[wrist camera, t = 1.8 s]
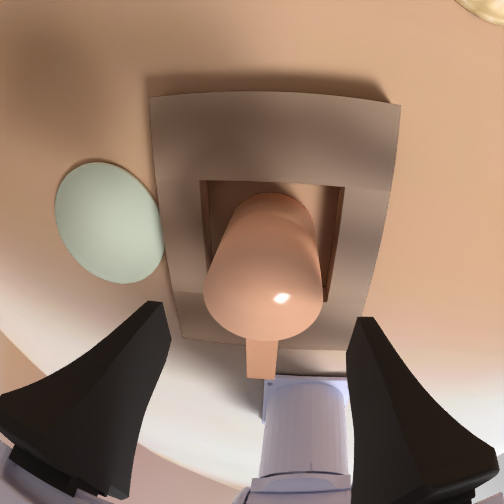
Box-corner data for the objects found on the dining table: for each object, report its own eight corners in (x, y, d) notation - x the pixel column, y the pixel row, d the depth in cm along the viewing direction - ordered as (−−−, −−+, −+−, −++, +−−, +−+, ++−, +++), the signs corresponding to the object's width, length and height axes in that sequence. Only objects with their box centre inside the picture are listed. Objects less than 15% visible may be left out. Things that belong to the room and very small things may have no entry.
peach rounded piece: (227, 190, 17) (197, 244, 11) (318, 195, 16) (331, 252, 11) (232, 313, 21) (215, 382, 16) (303, 318, 21) (304, 389, 16)
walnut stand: (347, 335, 21) (350, 350, 20) (188, 323, 22) (182, 338, 21) (391, 103, 13) (401, 105, 12) (160, 96, 14) (148, 97, 13)
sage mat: (174, 286, 20) (173, 289, 20) (75, 275, 21) (73, 277, 21) (156, 157, 16) (154, 158, 16) (46, 168, 17) (43, 169, 16)
